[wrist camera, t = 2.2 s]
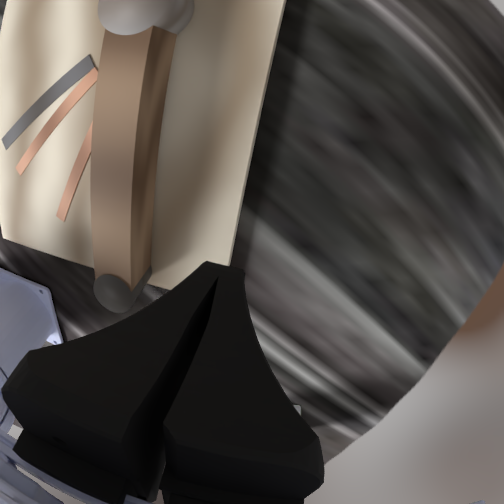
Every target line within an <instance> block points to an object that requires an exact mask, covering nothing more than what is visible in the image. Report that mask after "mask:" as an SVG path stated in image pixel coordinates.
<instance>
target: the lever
mask: <svg viewBox="0 0 504 504" xmlns="http://www.w3.org/2000/svg"><path fill="white" fill-rule="evenodd" d="M193 12H194V0H99V2H98V17H99V20H100V22H101V24H102V25H103V26H104V28H105V33H104V38H103V44H102V50H101V56H100V62H99V69H98V76H97V84H96V92H95V101H94V112H93V125H92V141H91V169H90V201H91V230H92V247H93V260H94V271H95V282H94V285H93V290H94V294H95V296H96V298H97V300H98V301H99V302H100V304H101V305H103V306H104V307H105V308H106V309H108V310H110V311H112V312H115V313H125V312H127V311H128V310H129V309H130V308H131V306H132V305H133V303H134V302H135V300H136V299H137V297H138V296H139V294H140V292H141V291H142V289H143V288H144V286H145V285H146V283H147V282H148V280H149V279H150V277H151V275H152V267H151V243H152V223H153V207H154V193H155V181H156V170H157V160H158V151H159V142H160V134H161V126H162V119H163V112H164V105H165V98H166V92H167V86H168V80H169V74H170V68H171V63H172V57H173V52H174V47H175V42H176V37H177V34H179V33H180V32H181V31H182V30H183V29H184V28H185V27H186V26H187V25H188V23H189V22H190V20H191V18H192V15H193Z"/></svg>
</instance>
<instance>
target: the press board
mask: <svg viewBox="0 0 504 504" xmlns="http://www.w3.org/2000/svg"><path fill="white" fill-rule="evenodd" d="M286 1H287V0H194V12H193V15H192V18H191V20H190V22H189V23H188V25H187V26H186V27H185V28H184V29H183V30H182V31H181V32H180V33H179V34H177V37H176V42H175V47H174V52H173V57H172V63H171V68H170V74H169V80H168V86H167V92H166V98H165V105H164V112H163V119H162V126H161V134H160V142H159V151H158V160H157V170H156V181H155V193H154V207H153V223H152V243H151V267H152V275H151V277H150V279H149V280H148V282H147V284H150V285H154V286H158V287H161V288H165V289H169V290H171V289H173V288H174V287H175V286H176V285H178V284H179V283H180V282H181V281H183V280H184V279H185V278H186V277H187V276H189V275H190V274H191V273H192V272H193V271H194V270H196V269H197V268H198V267H199V266H200V265H201V264H202V263H203V262H205V261H209V262H213V263H218V264H222V265H226V266H230V263H231V257H232V252H233V247H234V242H235V237H236V232H237V227H238V222H239V217H240V212H241V207H242V202H243V197H244V192H245V187H246V182H247V177H248V172H249V168H250V163H251V158H252V153H253V148H254V144H255V139H256V134H257V130H258V125H259V120H260V116H261V111H262V106H263V102H264V97H265V93H266V88H267V84H268V79H269V75H270V70H271V66H272V61H273V57H274V52H275V48H276V44H277V39H278V35H279V30H280V26H281V22H282V18H283V13H284V9H285V5H286ZM98 2H99V0H7V4H6V8H5V12H4V17H3V22H2V27H1V32H0V224H1V230H2V235H3V238H5V239H7V240H10V241H13V242H16V243H19V244H22V245H24V246H27V247H30V248H33V249H36V250H39V251H42V252H45V253H48V254H51V255H54V256H57V257H60V258H63V259H66V260H70V261H73V262H76V263H79V264H82V265H85V266H89V267H92V268H94V260H93V247H92V230H91V201H90V169H91V141H92V125H93V112H94V101H95V92H96V84H97V76H98V69H99V62H100V56H101V50H102V44H103V38H104V33H105V28H104V26H103V25H102V24H101V22H100V20H99V17H98Z"/></svg>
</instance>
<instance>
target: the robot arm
mask: <svg viewBox="0 0 504 504" xmlns="http://www.w3.org/2000/svg"><path fill="white" fill-rule="evenodd" d="M244 276H245V272H244V271H243V269H239V268H234V267H230V266H226V265H222V264H218V263H213V262H209V261H205V262H203V263H202V264H201V265H200V266H199V267H198V268H197V269H196V270H194V271H193V272H192V273H191V274H190V275H189V276H187V277H186V278H185V279H184V280H183V281H181V282H180V283H179V284H178V285H176V286H175V287H174V288H173V289H171V290H170V291H169V292H167V293H166V294H164V295H163V296H161V297H160V298H159V299H157V300H156V301H154V302H153V303H151V304H150V305H148V306H147V307H145V308H143V309H142V310H140V311H138V312H137V313H135V314H133V315H131V316H129V317H128V318H126V319H124V320H122V321H120V322H118V323H115V324H113V325H111V326H109V327H106V328H104V329H102V330H100V331H97V332H95V333H92V334H89V335H86V336H84V337H80V338H77V339H74V340H71V341H68V342H63V339H62V335H61V332H60V328H59V325H58V321H57V317H56V313H55V309H54V305H53V301H52V297H51V292H50V290H49V289H48V288H47V287H45V286H42V285H40V284H37V283H35V282H32V281H30V280H27V279H25V278H23V277H20V276H18V275H15V274H13V273H11V272H8V271H6V270H4V269H2V268H0V504H64V503H63V502H62V501H60V500H59V499H57V498H55V497H54V496H53V495H51V494H50V493H48V492H47V491H46V490H44V489H43V488H42V487H41V486H40V485H39V484H38V483H36V482H35V481H33V480H32V479H30V478H29V477H27V476H26V475H24V474H23V473H21V472H20V471H19V470H17V467H16V465H17V466H19V467H20V468H22V469H24V470H25V471H27V472H28V473H30V474H32V475H33V476H35V477H36V478H38V479H40V480H42V481H43V482H45V483H47V484H49V485H50V486H52V487H54V488H56V489H58V490H60V491H62V492H63V493H65V494H67V495H69V496H71V497H73V498H75V499H77V500H79V501H82V502H84V503H86V504H153V503H152V502H154V501H156V498H157V494H158V490H159V489H160V490H162V495H163V499H164V504H304V498H306V497H307V496H309V495H310V494H311V493H313V492H314V491H315V490H317V489H318V488H319V487H320V486H321V485H322V484H323V483H324V462H323V455H322V450H321V445H320V441H319V437H318V436H317V435H316V434H315V432H314V431H313V430H312V429H311V428H310V426H309V425H308V424H307V423H306V422H305V420H304V419H303V418H302V416H301V415H300V414H299V413H298V411H297V410H296V408H295V407H294V406H293V404H292V403H291V401H290V400H289V398H288V397H287V395H286V394H285V392H284V390H283V389H282V387H281V385H280V384H279V382H278V380H277V379H276V377H275V375H274V374H273V372H272V370H271V368H270V366H269V364H268V362H267V360H266V358H265V356H264V353H263V351H262V349H261V346H260V344H259V341H258V339H257V336H256V333H255V330H254V327H253V324H252V320H251V317H250V313H249V309H248V304H247V299H246V293H245V284H244ZM45 341H48V342H50V343H53V344H55V345H52V346H48V347H43V348H41V347H42V345H43V344H44V343H45ZM15 417H16V419H17V420H18V421H19V423H20V424H21V425H22V427H23V428H24V429H23V431H22V433H21V434H20V436H19V438H18V440H16V439H15V438H13V437H12V436H10V435H9V434H7V433H8V431H9V430H10V428H11V426H12V424H13V422H14V419H15ZM165 462H166V465H165ZM15 464H16V465H15ZM164 466H165V468H164ZM163 470H164V471H163ZM162 474H163V475H162ZM471 504H485V501H484V500H481V501H478V502H474V503H471Z"/></svg>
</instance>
